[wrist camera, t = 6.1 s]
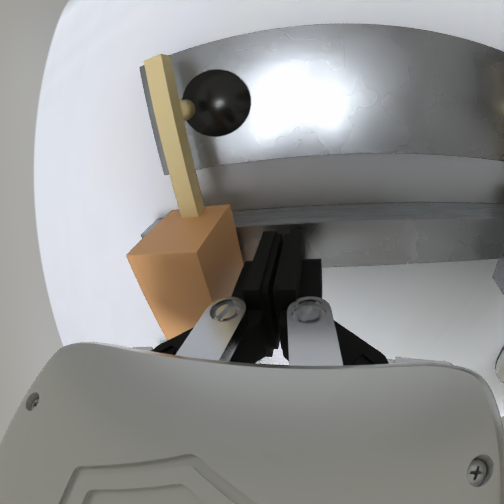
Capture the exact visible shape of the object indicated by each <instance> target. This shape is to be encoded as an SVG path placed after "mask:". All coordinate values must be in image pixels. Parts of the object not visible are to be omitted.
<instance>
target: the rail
mask: <svg viewBox="0 0 504 504" xmlns="http://www.w3.org/2000/svg"><path fill="white" fill-rule="evenodd" d="M232 214H233V218H234V223H235V228H236V232H237V237H238V241H239V246H240V250H241V255H242V259H243V264H244V263H245V261H253V259H254V256H255V253H256V250H257V248H258V245H259V242H260V239H261V236H262V234H263V231H277V233H278V234H282V238H283V240H284V235H285V233H289V231H290V230H297V229H303V235H304V246H305V258H306V259H321V262H322V267H346V266H371V265H393V264H414V263H433V262H450V261H467V260H482V259H497V258H499V256H500V252H501V248H502V245H503V241H504V204H489V203H443V202H412V203H363V204H336V205H315V206H298V207H282V208H267V209H254V210H242V211H232ZM162 219H163V218H162ZM162 219H157V220H156V221H155V222H154V223H153V224H152V225H151V226H150V227H148V228H147V229H146V230H145V231H144V232H143V233H142V234H141V237H142V239H143V238H144V237H145V236H146V235H147V234H148V233H149V232H150V231H151V230H152V229H153V228H154V227H155V226H156V225H157V224H158V223H159V222H160V221H161V220H162Z"/></svg>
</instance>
